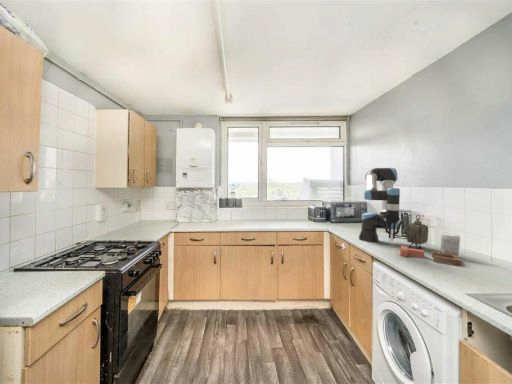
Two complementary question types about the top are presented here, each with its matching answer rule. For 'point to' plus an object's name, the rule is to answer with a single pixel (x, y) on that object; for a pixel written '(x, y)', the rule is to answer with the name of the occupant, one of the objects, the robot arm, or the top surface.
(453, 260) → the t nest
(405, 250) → the t block
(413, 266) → the top surface
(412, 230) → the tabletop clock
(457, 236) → the supplement tub
